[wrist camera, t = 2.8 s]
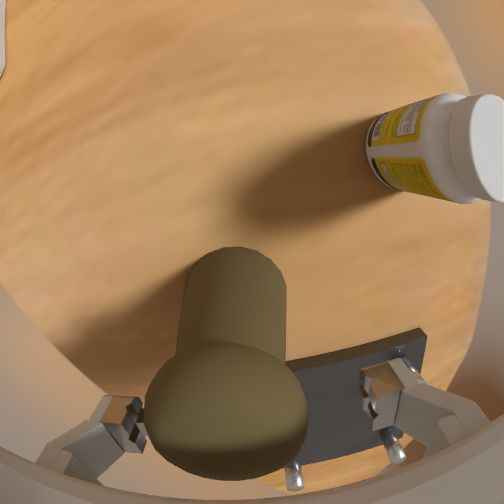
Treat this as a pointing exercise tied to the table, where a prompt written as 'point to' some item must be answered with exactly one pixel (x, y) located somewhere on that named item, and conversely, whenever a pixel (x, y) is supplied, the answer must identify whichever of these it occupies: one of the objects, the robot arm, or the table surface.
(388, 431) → the standoff chassis
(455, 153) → the supplement bottle
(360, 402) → the robot arm
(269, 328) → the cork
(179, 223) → the table surface
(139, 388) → the table surface
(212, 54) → the table surface
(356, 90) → the table surface
